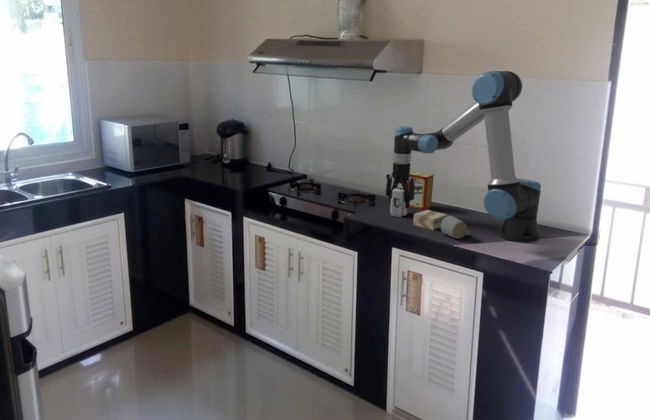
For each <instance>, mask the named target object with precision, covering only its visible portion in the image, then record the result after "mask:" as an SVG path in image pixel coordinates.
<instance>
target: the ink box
mask: <svg viewBox="0 0 650 420" xmlns="http://www.w3.org/2000/svg"><path fill="white" fill-rule="evenodd" d="M404 201H405V196H404V190H403V186H397V188H395V189H394V190H393V191H392V205H391V213H390V216H391V217H396V218H397V217H399V218H402V217H403V202H404Z"/></svg>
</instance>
